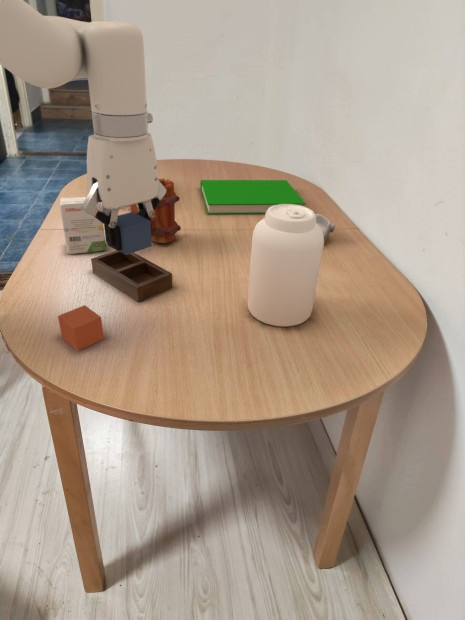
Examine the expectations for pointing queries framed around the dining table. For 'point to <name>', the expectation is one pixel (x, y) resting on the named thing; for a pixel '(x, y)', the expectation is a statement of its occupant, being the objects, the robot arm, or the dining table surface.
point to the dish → (324, 225)
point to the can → (284, 265)
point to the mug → (164, 215)
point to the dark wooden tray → (132, 274)
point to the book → (247, 195)
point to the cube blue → (134, 232)
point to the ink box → (81, 227)
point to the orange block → (81, 327)
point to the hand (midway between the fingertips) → (129, 242)
